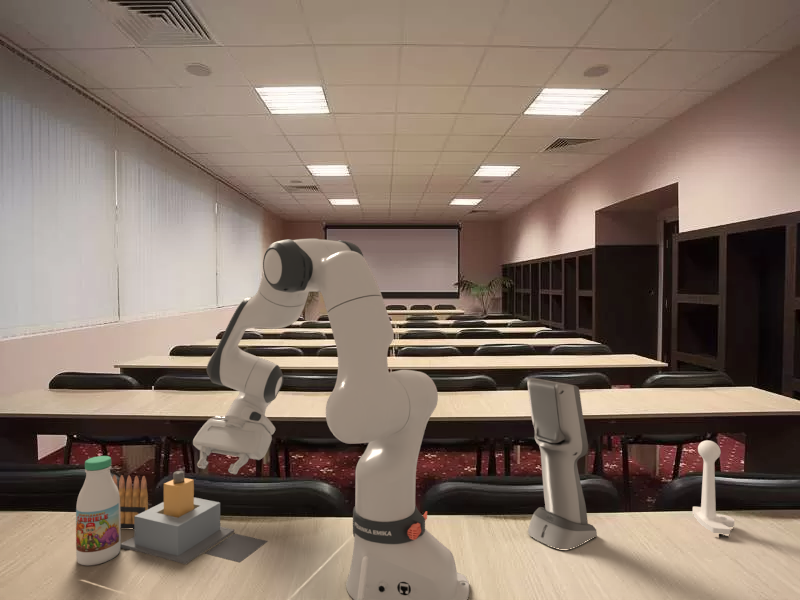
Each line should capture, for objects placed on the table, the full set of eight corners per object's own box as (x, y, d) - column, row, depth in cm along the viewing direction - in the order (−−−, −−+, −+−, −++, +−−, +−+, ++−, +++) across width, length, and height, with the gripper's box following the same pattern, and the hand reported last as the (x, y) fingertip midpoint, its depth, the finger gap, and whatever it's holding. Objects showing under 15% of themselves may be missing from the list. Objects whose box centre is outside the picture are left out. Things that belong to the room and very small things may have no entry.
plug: (193, 533, 108) (193, 470, 108) (178, 543, 104) (178, 477, 104) (179, 530, 109) (179, 468, 109) (163, 539, 106) (163, 474, 105)
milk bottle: (79, 551, 102) (79, 455, 102) (122, 543, 105) (121, 450, 105) (73, 570, 95) (72, 467, 95) (118, 561, 98) (118, 462, 98)
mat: (267, 542, 106) (267, 540, 106) (239, 563, 98) (239, 562, 98) (234, 534, 109) (234, 533, 109) (204, 554, 101) (204, 553, 101)
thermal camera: (519, 532, 111) (520, 377, 110) (554, 517, 118) (556, 372, 118) (563, 555, 101) (565, 386, 101) (599, 537, 109) (601, 379, 108)
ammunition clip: (150, 526, 113) (150, 474, 113) (145, 530, 111) (145, 477, 111) (105, 524, 114) (105, 473, 114) (100, 528, 112) (100, 476, 112)
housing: (234, 533, 110) (234, 503, 110) (185, 565, 97) (185, 531, 97) (173, 519, 117) (172, 490, 116) (120, 547, 104) (119, 515, 103)
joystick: (687, 515, 120) (688, 433, 119) (721, 517, 118) (722, 435, 118) (708, 537, 109) (709, 447, 108) (746, 540, 107) (747, 449, 107)
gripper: (204, 408, 128) (175, 458, 119) (270, 416, 120) (244, 469, 111) (217, 421, 132) (189, 470, 123) (281, 430, 125) (256, 482, 116)
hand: (216, 470), depth 117 cm, fingers open, 8 cm apart
